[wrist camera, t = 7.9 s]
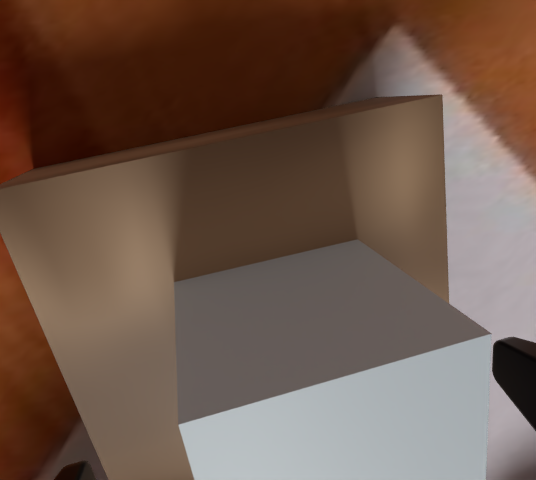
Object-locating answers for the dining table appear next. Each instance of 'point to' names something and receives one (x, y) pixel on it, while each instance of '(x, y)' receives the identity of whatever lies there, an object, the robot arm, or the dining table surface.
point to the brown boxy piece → (209, 244)
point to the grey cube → (328, 373)
